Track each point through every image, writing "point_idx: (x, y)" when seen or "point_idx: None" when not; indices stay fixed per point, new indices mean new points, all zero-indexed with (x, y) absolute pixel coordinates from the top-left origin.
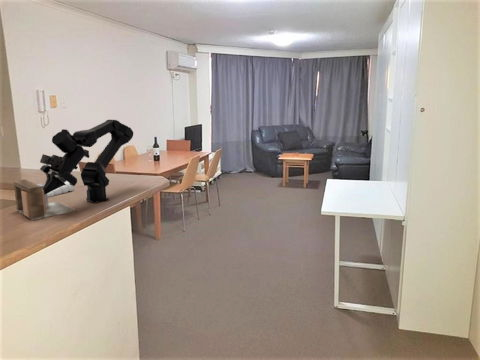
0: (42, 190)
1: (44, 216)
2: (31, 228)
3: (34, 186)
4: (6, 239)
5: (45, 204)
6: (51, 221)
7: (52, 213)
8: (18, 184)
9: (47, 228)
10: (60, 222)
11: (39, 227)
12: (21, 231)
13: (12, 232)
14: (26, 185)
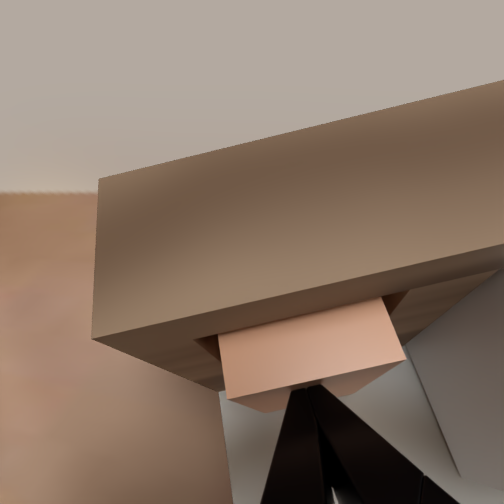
0: (229, 379)
1: (219, 391)
2: (71, 292)
3: (168, 241)
4: (19, 198)
5: (462, 450)
6: (108, 417)
7: (256, 465)
8: (500, 93)
9: (4, 366)
10: (43, 471)
11: (55, 330)
12: (65, 249)
13: (83, 217)
14: (307, 156)
